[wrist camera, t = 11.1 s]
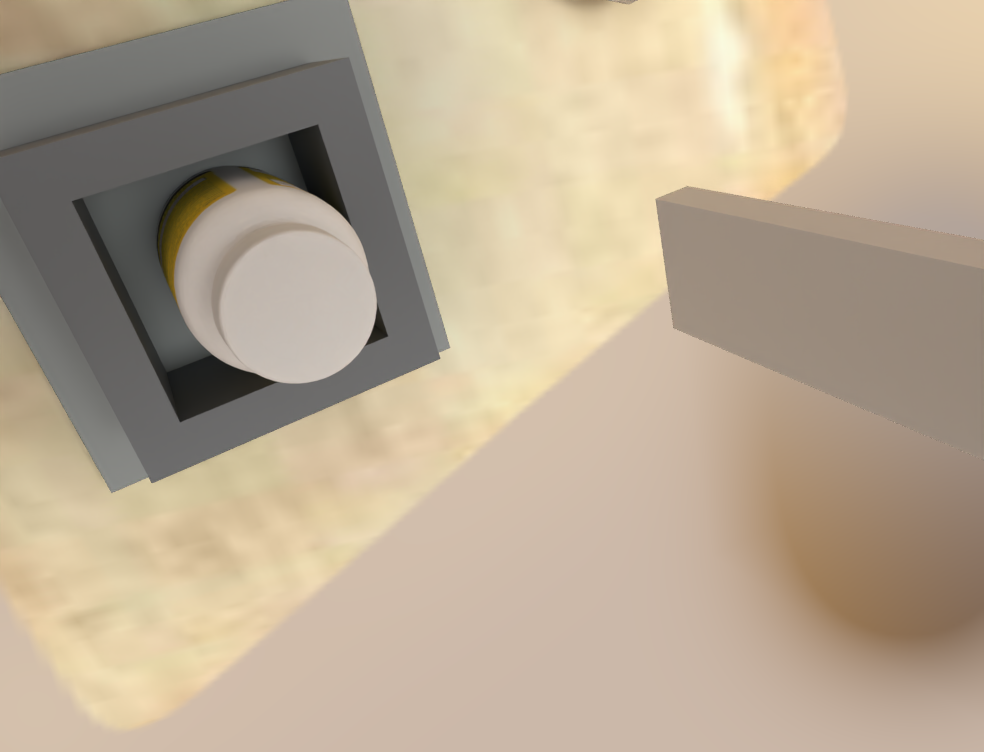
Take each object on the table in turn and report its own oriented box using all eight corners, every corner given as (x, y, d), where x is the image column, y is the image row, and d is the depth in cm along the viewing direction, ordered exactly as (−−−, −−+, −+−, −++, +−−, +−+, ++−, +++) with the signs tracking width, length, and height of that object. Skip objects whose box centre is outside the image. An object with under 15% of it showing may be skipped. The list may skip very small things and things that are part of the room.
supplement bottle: (172, 328, 28) (207, 431, 19) (139, 172, 26) (162, 212, 17) (322, 303, 30) (412, 385, 21) (302, 156, 28) (392, 185, 19)
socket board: (-98, 101, 24) (-156, 104, 18) (332, -10, 28) (391, -35, 22) (110, 475, 30) (115, 563, 24) (436, 338, 34) (503, 385, 28)
